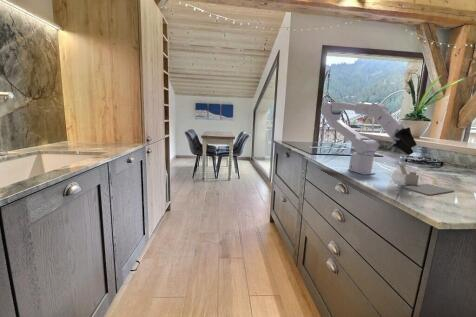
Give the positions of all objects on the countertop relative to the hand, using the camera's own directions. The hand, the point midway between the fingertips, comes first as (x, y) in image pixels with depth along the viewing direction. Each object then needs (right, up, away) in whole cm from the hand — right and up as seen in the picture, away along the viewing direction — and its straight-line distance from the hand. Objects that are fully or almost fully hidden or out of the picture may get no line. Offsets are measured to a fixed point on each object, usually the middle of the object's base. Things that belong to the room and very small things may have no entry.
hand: (412, 150), depth 95 cm
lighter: (0, -14, +3) cm, 14 cm away
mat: (+3, -15, -4) cm, 16 cm away
